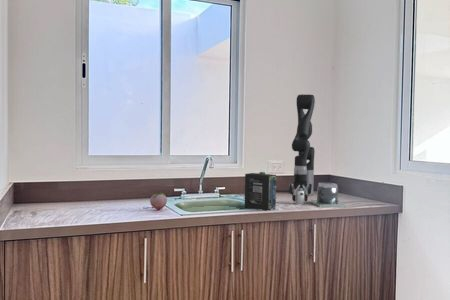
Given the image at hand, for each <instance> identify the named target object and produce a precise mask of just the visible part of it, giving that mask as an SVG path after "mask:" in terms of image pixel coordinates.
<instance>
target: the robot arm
mask: <svg viewBox="0 0 450 300" xmlns="http://www.w3.org/2000/svg"><path fill="white" fill-rule="evenodd" d="M296 96H297V97H296V109H297V126H296V127H297V128H296V133H295V136H294V139H293V141H292V143H291V149H292V151H294V152H298V153H297V154H298V155H296V156H294V167H293V183H288V193H289V194H290V195H291V198H292V199H291V200H292V202H296V192H297V191H298V189H299V188H303V190H304V202H308V200H309V199H308V197H309V196H312V195H314V182H315V179H314V177H315V176H314V174H315V173H314V172H315V168H314V166H315V153H316V152H315V148H314V147H313V146H311V143H310V141H309V139H310V138H311V136H312V134H313V124H312V122H311V119H312V116H313V113H314V109H315V104H316V99H315V95H313V94H298V95H296ZM304 110H307V111H306V112H305V111H304ZM307 161H308V162H307ZM293 187H294V188H293Z"/></svg>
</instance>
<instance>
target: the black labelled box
mask: <svg viewBox="0 0 450 300" xmlns="http://www.w3.org/2000/svg"><path fill="white" fill-rule="evenodd" d="M244 174H245V175H244V185H243V188H242V189H243V190H244V197H243V198H242V199H244V208H247V209H253V210H259V209H262V210H261V211H266V210H269V211H272V210H271V209H273V210H275V209H276V208H277V205H276V203H277V197H276V193H277V190H276V189H277V179H278V178H277V175H276V174H272V173H270V174H269V173H266V172H265V171H259V173H258V172H257V173H256V172H249V173H244Z"/></svg>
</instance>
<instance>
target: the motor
mask: <svg viewBox="0 0 450 300" xmlns="http://www.w3.org/2000/svg"><path fill="white" fill-rule="evenodd" d="M316 187H317V188H316V199H309V203H310V204H312V203H313V204H312V205H314V204H315V205H314V206H316V205H317V207H318V206H319V208H345V207H347V203H344V202H341V201H340V200H339V186H338V184H337V183H333V182H318V186H316Z"/></svg>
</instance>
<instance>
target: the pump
mask: <svg viewBox="0 0 450 300" xmlns="http://www.w3.org/2000/svg"><path fill="white" fill-rule="evenodd" d="M295 195H296V197H295V204H296V205H298V204H303V205H305V201H304V190H303V188H299V189H298V191H297V192H296V194H295Z"/></svg>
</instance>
